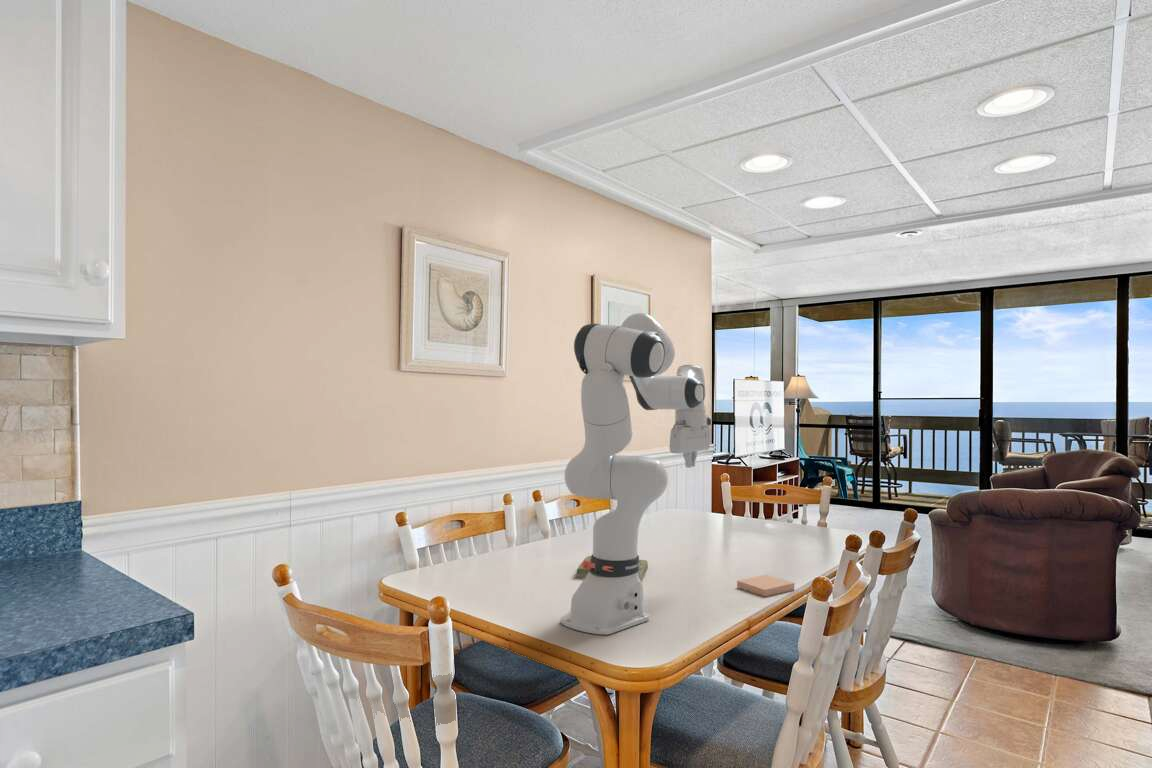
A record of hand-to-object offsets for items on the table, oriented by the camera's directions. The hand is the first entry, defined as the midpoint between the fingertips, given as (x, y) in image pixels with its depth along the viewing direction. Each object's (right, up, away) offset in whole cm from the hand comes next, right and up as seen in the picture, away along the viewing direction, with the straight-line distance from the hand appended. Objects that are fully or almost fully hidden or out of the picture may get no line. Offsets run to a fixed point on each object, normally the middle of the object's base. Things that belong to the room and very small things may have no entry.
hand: (690, 467), depth 187 cm
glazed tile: (+17, -32, -5) cm, 37 cm away
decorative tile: (-23, -34, +6) cm, 41 cm away
